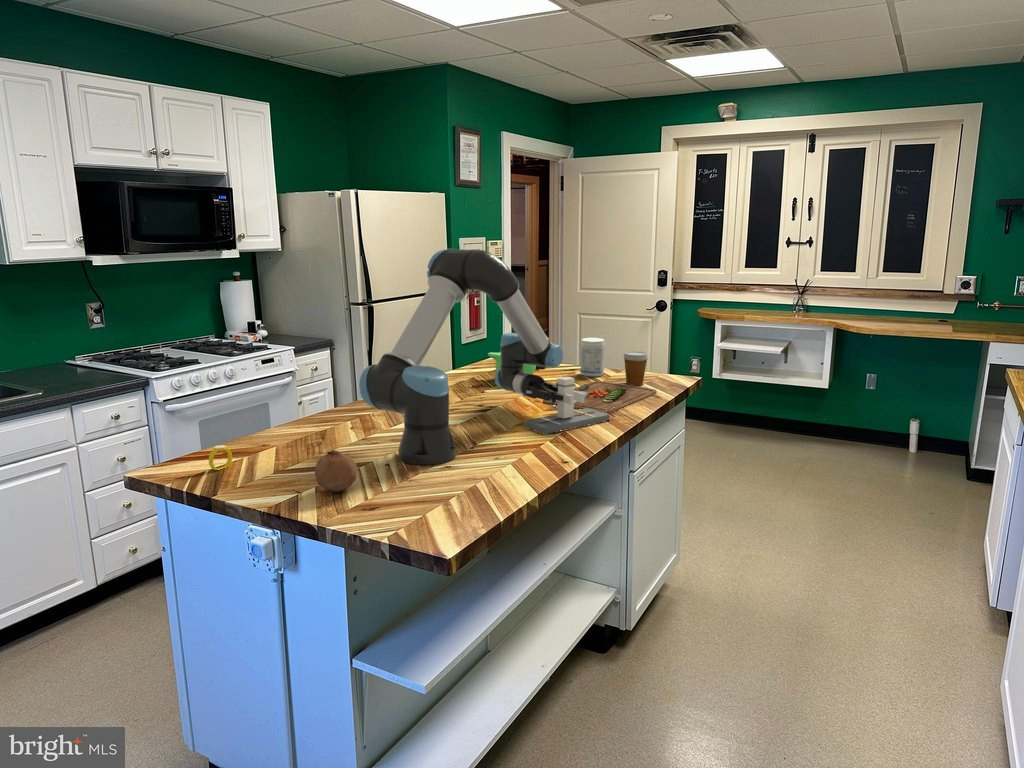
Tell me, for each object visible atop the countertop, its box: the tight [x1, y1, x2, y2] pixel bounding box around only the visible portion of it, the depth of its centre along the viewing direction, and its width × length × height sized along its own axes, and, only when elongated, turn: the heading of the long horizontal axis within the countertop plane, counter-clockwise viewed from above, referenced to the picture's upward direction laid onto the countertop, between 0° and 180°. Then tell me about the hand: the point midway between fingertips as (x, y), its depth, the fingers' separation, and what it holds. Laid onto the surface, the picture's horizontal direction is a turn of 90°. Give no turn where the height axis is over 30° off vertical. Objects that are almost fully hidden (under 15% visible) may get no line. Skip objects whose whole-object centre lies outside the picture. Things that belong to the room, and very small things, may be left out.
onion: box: [314, 449, 359, 493], centre depth 162 cm, size 10×9×10 cm
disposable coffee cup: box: [622, 350, 649, 386], centre depth 275 cm, size 10×10×12 cm
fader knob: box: [556, 376, 576, 418], centre depth 218 cm, size 4×3×12 cm
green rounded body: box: [487, 343, 537, 374], centre depth 279 cm, size 18×17×15 cm
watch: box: [208, 444, 233, 471], centre depth 177 cm, size 6×3×6 cm, turn 150°
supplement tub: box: [580, 337, 605, 378], centre depth 291 cm, size 10×10×15 cm
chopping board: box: [542, 381, 658, 414], centre depth 254 cm, size 45×27×3 cm, turn 145°
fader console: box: [523, 408, 610, 435], centre depth 220 cm, size 26×10×2 cm, turn 127°
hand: (577, 399), depth 213 cm, fingers closed on fader knob, 4 cm apart
